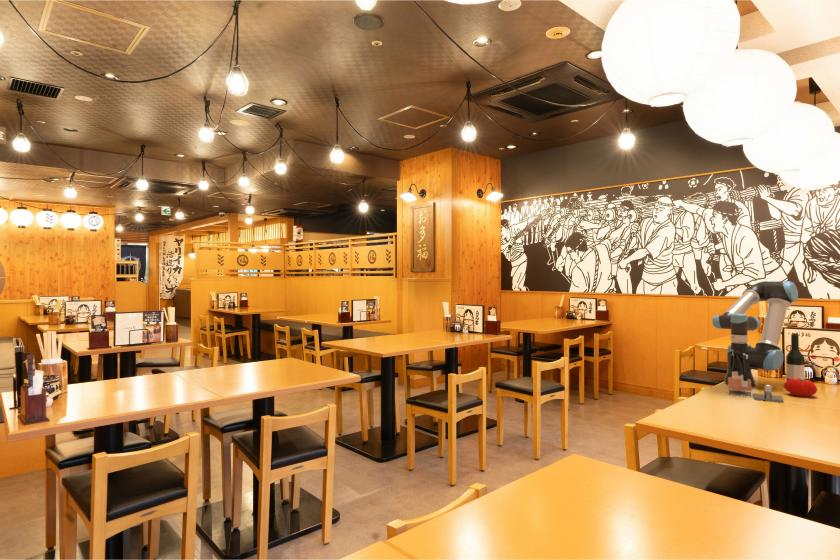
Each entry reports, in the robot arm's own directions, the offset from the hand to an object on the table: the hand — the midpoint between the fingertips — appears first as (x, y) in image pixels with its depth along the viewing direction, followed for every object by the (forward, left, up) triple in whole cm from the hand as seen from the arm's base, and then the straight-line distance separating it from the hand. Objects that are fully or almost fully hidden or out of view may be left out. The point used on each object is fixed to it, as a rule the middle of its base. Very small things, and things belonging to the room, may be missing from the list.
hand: (739, 385), depth 264 cm
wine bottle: (-39, +27, -5) cm, 48 cm away
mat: (0, 0, -5) cm, 5 cm away
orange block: (0, 0, -2) cm, 2 cm away
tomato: (-11, +27, -5) cm, 30 cm away
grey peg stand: (+7, +12, -5) cm, 15 cm away
